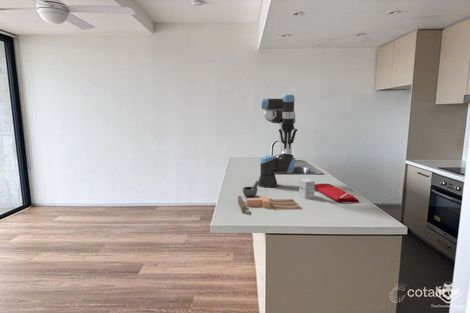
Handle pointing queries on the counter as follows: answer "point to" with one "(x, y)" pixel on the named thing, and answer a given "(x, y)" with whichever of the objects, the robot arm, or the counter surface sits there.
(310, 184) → the supplement box
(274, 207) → the board
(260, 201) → the tee
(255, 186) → the mortar and pestle
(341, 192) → the dish drying mat
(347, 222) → the counter surface
